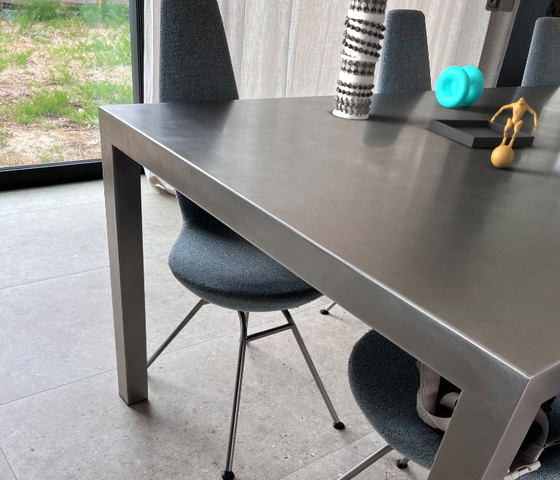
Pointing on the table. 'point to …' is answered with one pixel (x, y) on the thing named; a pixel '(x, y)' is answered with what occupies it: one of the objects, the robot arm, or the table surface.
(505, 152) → the figurine
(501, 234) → the table surface
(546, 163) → the table surface
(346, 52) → the decorative candle
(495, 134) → the base pad
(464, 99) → the donuts
